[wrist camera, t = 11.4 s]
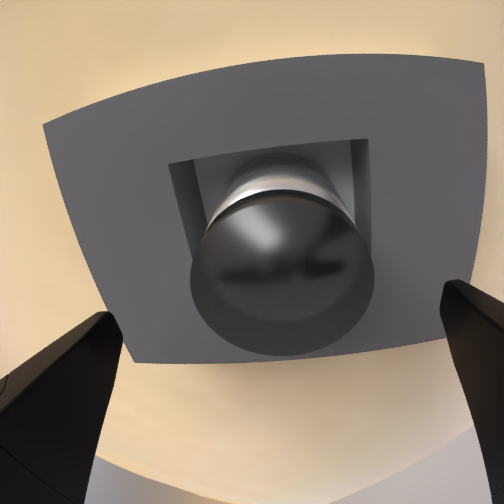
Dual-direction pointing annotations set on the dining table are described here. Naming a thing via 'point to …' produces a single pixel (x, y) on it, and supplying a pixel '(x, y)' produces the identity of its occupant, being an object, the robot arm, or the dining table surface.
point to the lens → (281, 260)
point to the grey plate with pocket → (271, 141)
